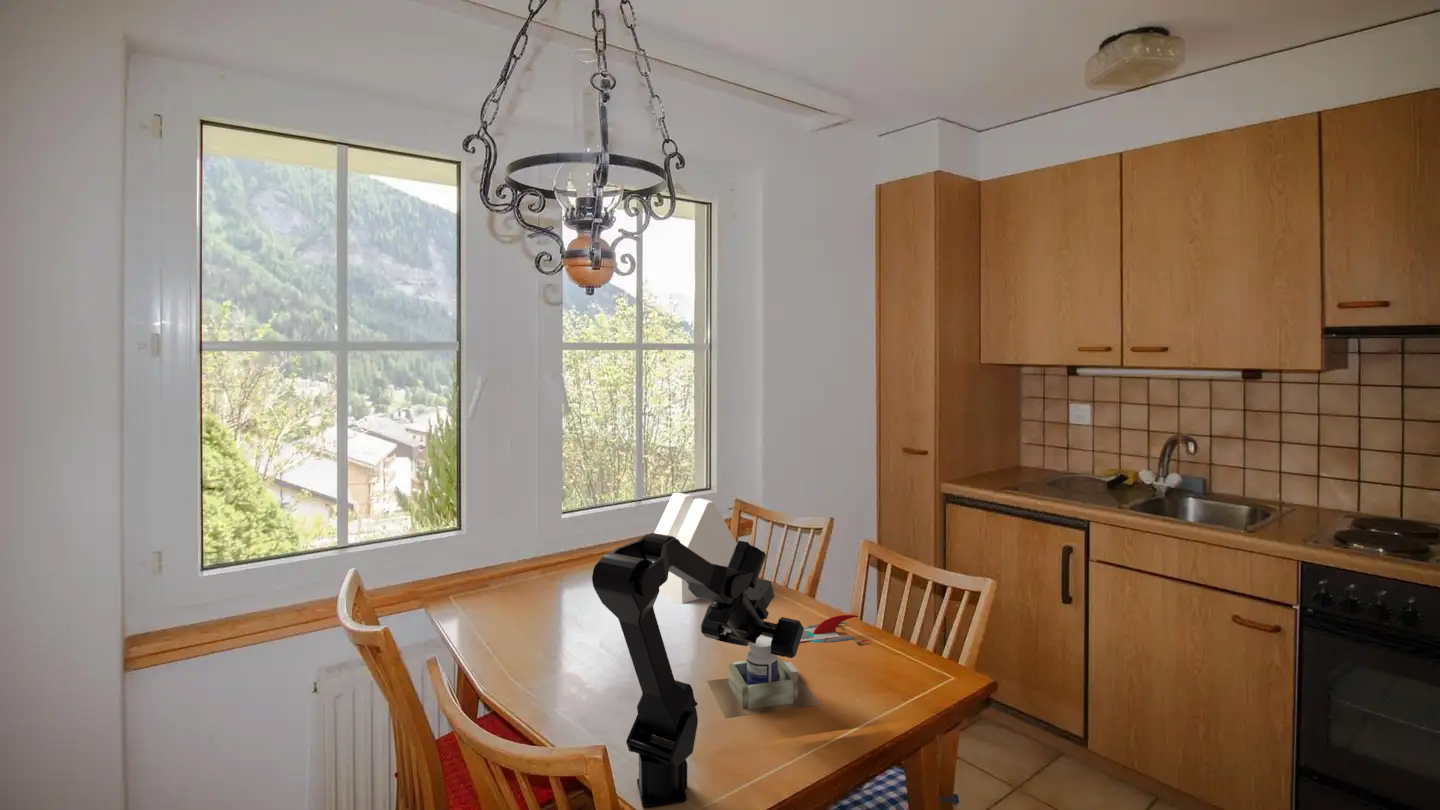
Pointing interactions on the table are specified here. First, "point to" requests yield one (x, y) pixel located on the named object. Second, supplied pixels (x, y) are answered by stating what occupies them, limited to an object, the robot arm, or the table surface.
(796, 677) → the block
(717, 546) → the white sloped block
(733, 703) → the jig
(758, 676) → the pill bottle
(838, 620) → the toy spaceship
